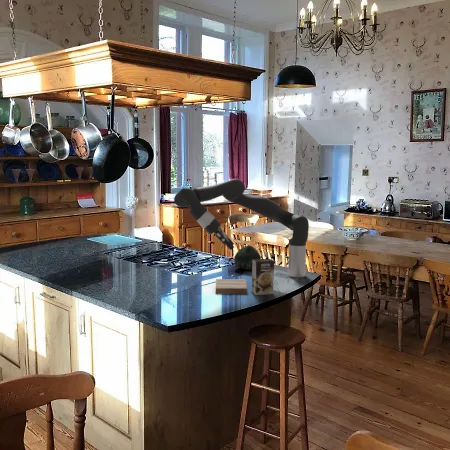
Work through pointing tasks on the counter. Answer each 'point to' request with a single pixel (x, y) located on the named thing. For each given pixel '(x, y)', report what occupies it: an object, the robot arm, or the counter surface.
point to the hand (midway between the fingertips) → (232, 246)
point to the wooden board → (231, 286)
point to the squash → (246, 257)
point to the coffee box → (262, 276)
